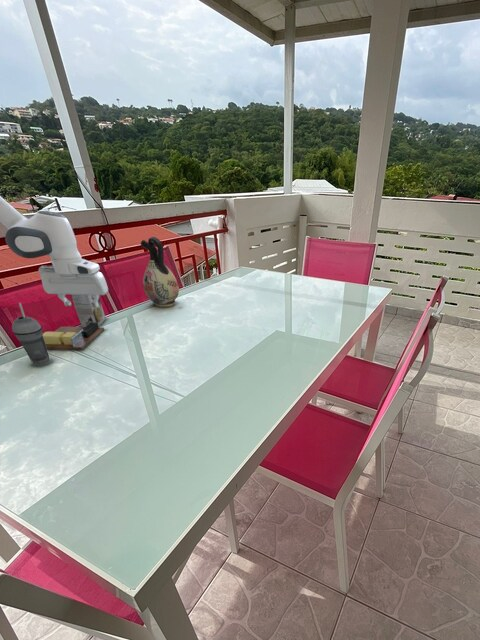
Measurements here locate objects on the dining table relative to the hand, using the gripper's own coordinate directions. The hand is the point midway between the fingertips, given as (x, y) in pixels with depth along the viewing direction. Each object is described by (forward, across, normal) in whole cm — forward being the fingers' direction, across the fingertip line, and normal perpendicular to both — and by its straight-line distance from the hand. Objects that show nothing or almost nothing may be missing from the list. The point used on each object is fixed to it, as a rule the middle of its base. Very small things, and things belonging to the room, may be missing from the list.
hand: (82, 306), depth 119 cm
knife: (+10, 0, -4) cm, 11 cm away
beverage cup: (+12, -6, -22) cm, 26 cm away
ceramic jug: (+12, +17, +38) cm, 43 cm away
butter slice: (+10, -3, -8) cm, 14 cm away
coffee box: (+12, -5, +13) cm, 18 cm away
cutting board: (+12, -6, -3) cm, 13 cm away
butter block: (+10, -9, -8) cm, 16 cm away
